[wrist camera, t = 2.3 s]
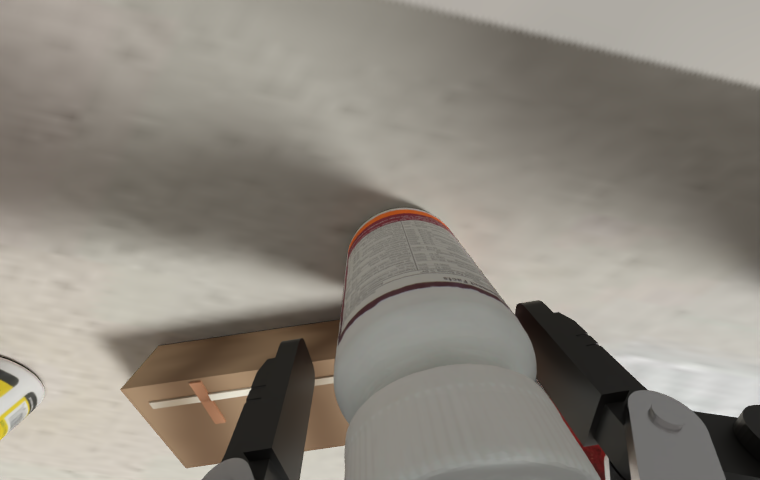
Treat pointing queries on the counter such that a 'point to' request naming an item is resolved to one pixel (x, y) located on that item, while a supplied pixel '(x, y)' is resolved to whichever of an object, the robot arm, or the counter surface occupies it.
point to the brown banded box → (229, 389)
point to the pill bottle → (439, 366)
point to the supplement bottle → (17, 394)
